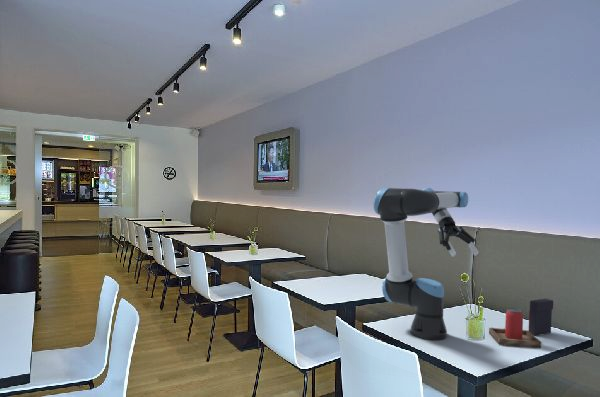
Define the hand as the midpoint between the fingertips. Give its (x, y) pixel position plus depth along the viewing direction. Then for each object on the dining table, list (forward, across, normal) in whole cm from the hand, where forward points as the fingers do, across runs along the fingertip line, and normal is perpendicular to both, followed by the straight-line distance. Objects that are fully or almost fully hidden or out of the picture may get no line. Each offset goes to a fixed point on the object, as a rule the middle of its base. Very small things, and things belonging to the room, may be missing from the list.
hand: (465, 254), depth 198 cm
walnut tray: (+41, -4, -5) cm, 41 cm away
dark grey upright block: (+39, -23, -8) cm, 46 cm away
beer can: (+40, -4, -5) cm, 41 cm away
